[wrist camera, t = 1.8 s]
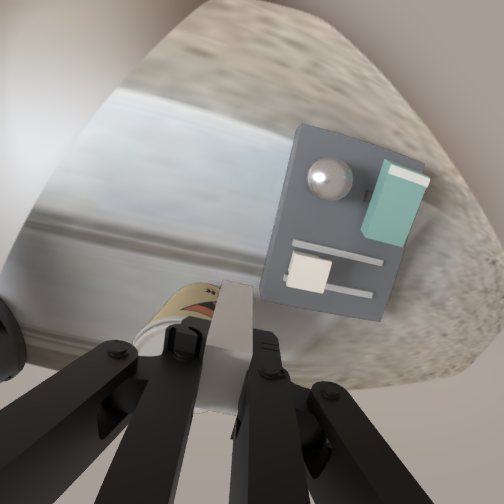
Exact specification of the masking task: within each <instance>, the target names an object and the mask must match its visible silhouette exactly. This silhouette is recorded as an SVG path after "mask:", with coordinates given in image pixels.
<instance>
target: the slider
mask: <svg viewBox="0 0 504 504" xmlns="http://www.w3.org/2000/svg"><path fill="white" fill-rule="evenodd" d="M331 265H332V261H331V260H326V259H322V258H319V256H317V255H313V254H308V253H304V252H299V251H295V250H293V253H292V257H291V261H290V265H289V268H288V272H289V275H288V278H287V282H286V286H287V287H292V288H297V289H302V290H307V291H312V292H317V293H322V294H323V292H324V289H325V286H326V282H327V279H328V276H329V272H330V269H331Z"/></svg>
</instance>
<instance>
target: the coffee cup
mask: <svg viewBox="0 0 504 504" xmlns="http://www.w3.org/2000/svg"><path fill="white" fill-rule="evenodd" d="M219 293H220V289H219V288H218V287H216V286H213V285H211V284H206V283H194V284H190V285H187V286H185V287H183V288H181V289H180V290H178V291H177V292H176V293H175V294H174V295H173V296H172V297H171V298H170V300H169V301H168V302H167V303H166V304H165V305H164V306H163V307H162V309H161V310H160V311H159V312H158V313H157V314H156V315H155V317H154V318H153V319H152V320H151V321H150V322H149V323H148V325H147V326H145V327H144V328H143V329H142V330H141V331H140V332H139V333H138V334H137V336H136V337H135V339H134V341H133V343H132V345H133V346H135V347H136V349H137V350H138V356H158V355H161V354H162V352H163V347H164V338H165V330H166V328H167V327H168V326H170V325H173V324H181V322H182V320H183V319H185V318H186V317H188V316H193V317H198V318H202V319H206V320H211V321H212V318H213V314H214V310H215V307H216V303H217V300H218V296H219ZM204 412H208V410H203V409H199V408H194V412H193V414H198V413H204Z"/></svg>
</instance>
